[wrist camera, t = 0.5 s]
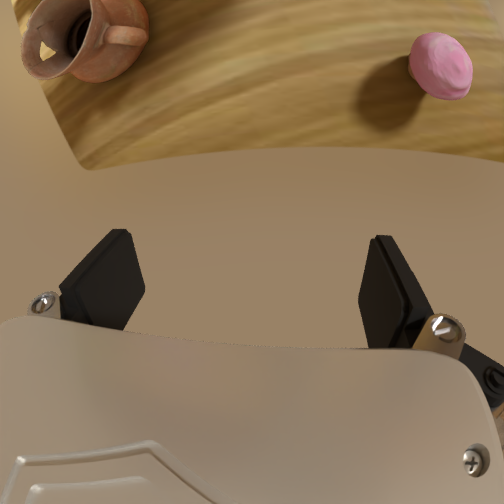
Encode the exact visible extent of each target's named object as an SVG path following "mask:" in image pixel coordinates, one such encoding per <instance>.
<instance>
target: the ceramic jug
mask: <svg viewBox="0 0 504 504" xmlns="http://www.w3.org/2000/svg"><path fill="white" fill-rule="evenodd" d="M27 27H28V28H27V30H26V31H25V32H24V34H23V37H22V43H21V57H22V61H23V64H24V66H25V68H26V70H27V71H28V73H29V74H30V75H32V76H33V77H35V78H37V79H41V80H48V79H53V78H56V77H59V76H62V75H64V74H67V73H69V72H71V73H72V74H73V75H74V76H75V77H76V78H78V79H80V80H82V81H84V82H89V83H100V82H105V81H108V80H111V79H113V78H115V77H117V76H119V75H120V74H122V73H123V72H125V71H126V70H127V69H128V68H129V67H130V66H131V65H132V64H133V63H134V62H135V61H136V60H137V58H138V57H139V55H140V54H141V52H142V50H143V49H144V47H145V45H146V43H147V42H148V40H149V17H148V14H147V11H146V9H145V7H144V6H143V4H142V3H141V2H140V1H139V0H42V1H41V2H40V4H39V5H38V6H37V7H36V9H35V10H34V11H33V13H32V15H31V16H30V18H29V20H28V23H27ZM41 41H43V42H44V43H45V45H46V46H47V47H49V48H51V49H52V50H53V51H56V54H54V55H53V56H52V57H50V58H48V59H46V60H45V61H42V59H41V58H40V52H39V51H40V47H41Z"/></svg>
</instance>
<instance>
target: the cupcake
mask: <svg viewBox="0 0 504 504" xmlns="http://www.w3.org/2000/svg"><path fill="white" fill-rule="evenodd" d="M408 58H409V64H408V72H409V74H410V75H411V77H412V78H413V79H415V80H416V81H417V82H418V84H419V85H420V87H421V88H422V89H423V90H425V91H426V92H427V93H428V94H430V95H431V96H433V97H436V98H439V99H444V100H457V99H461V98H463V97H464V96H465V95H466V94H467V93H468V92H469V89H470V85H471V82H472V63H471V60H470V58H469V56H468V55H467V53H466V51H465V50H464V48H463V47H462V46H461V45H460V44H459V42H458V41H457V40H455V39H454V38H452V37H450V36H448V35H446V34H443V33H437V32H433V33H427V34H423V35H421V36H419V37H418V38H417V39H416V40H415V41H414V43H413V45H412V48H411V53H410V54H409V56H408Z"/></svg>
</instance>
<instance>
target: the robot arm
mask: <svg viewBox="0 0 504 504" xmlns="http://www.w3.org/2000/svg"><path fill="white" fill-rule="evenodd" d="M59 288H60V290H61V293H62V294H61V296H60V297H59V295H58V294H57V293H56V292H53V291H50V292H45V293H42V294H40V295H38V296H37V297H36V298H34V300H32V302H31V303H30V305H29V307H28V315H27V316H21V317H16V318H12V319H10V320H7V321H5V322H4V323H2V324H1V325H0V504H504V367H503V366H502V365H500V364H499V363H497V362H495V361H494V360H492V359H491V358H489V357H487V356H486V355H484V354H482V353H481V352H479V351H477V350H476V349H474V348H472V347H471V346H469V345H467V344H466V343H464V342H465V339H466V332H465V329H464V327H463V325H462V324H461V323H460V322H459V321H458V320H457V319H455V318H454V317H452V316H450V315H447V314H442V313H439V314H434V313H433V310H432V308H431V306H430V304H429V302H428V300H427V298H426V296H425V294H424V292H423V290H422V288H421V286H420V284H419V282H418V281H417V279H416V277H415V275H414V273H413V272H412V271H411V269H410V267H409V265H408V264H407V262H406V260H405V258H404V256H403V255H402V253H401V251H400V249H399V248H398V246H397V244H396V243H395V241H394V239H393V238H392V236H387V235H386V236H385V235H376V237H375V239H371V241H370V245H369V250H368V255H367V260H366V265H365V270H364V274H363V279H362V283H361V288H360V292H359V296H358V297H359V298H358V304H359V308H360V312H361V317H362V321H363V325H364V329H365V334H366V338H367V342H368V347H369V348H291V347H270V346H251V345H238V344H225V343H214V342H204V341H194V340H186V339H177V338H169V337H162V336H154V335H147V334H141V333H134V332H128V331H123V329H124V328H125V326H126V324H127V322H128V320H129V318H130V317H131V315H132V314H133V312H134V310H135V308H136V307H137V305H138V303H139V301H140V300H141V298H142V296H143V295H144V292H145V284H144V281H143V277H142V274H141V270H140V266H139V263H138V259H137V255H136V251H135V247H134V243H133V240H132V236H131V234H130V233H129V232H128V231H127V230H126V229H112V230H111V231H110V232H109V233H108V234H107V235H106V236H105V237H104V238H103V239H102V240H101V241H100V242H99V243H98V244H97V245H96V246H95V247H94V248H93V249H92V250H91V251H90V252H89V253H88V255H87V256H86V257H85V258H84V259H83V260H82V261H81V262H80V263H79V264H78V265H77V266H76V267H75V268H74V270H73V271H72V272H71V273H70V274H69V275H68V276H67V278H65V280H64V281H63V282H62V283H61V284H60V285H59Z"/></svg>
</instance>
